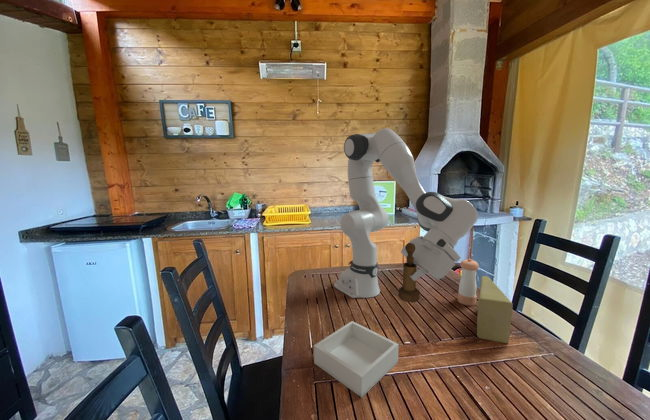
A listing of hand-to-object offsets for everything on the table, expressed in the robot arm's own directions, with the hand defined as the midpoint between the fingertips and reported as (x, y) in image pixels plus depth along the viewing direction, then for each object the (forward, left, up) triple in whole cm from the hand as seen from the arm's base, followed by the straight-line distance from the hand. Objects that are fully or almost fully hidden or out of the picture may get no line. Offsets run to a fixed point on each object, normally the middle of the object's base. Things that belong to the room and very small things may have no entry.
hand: (407, 275), depth 88 cm
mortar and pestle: (0, +1, -8) cm, 8 cm away
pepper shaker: (+4, +45, -25) cm, 51 cm away
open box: (-7, -17, -24) cm, 31 cm away
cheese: (+16, +32, -25) cm, 43 cm away
